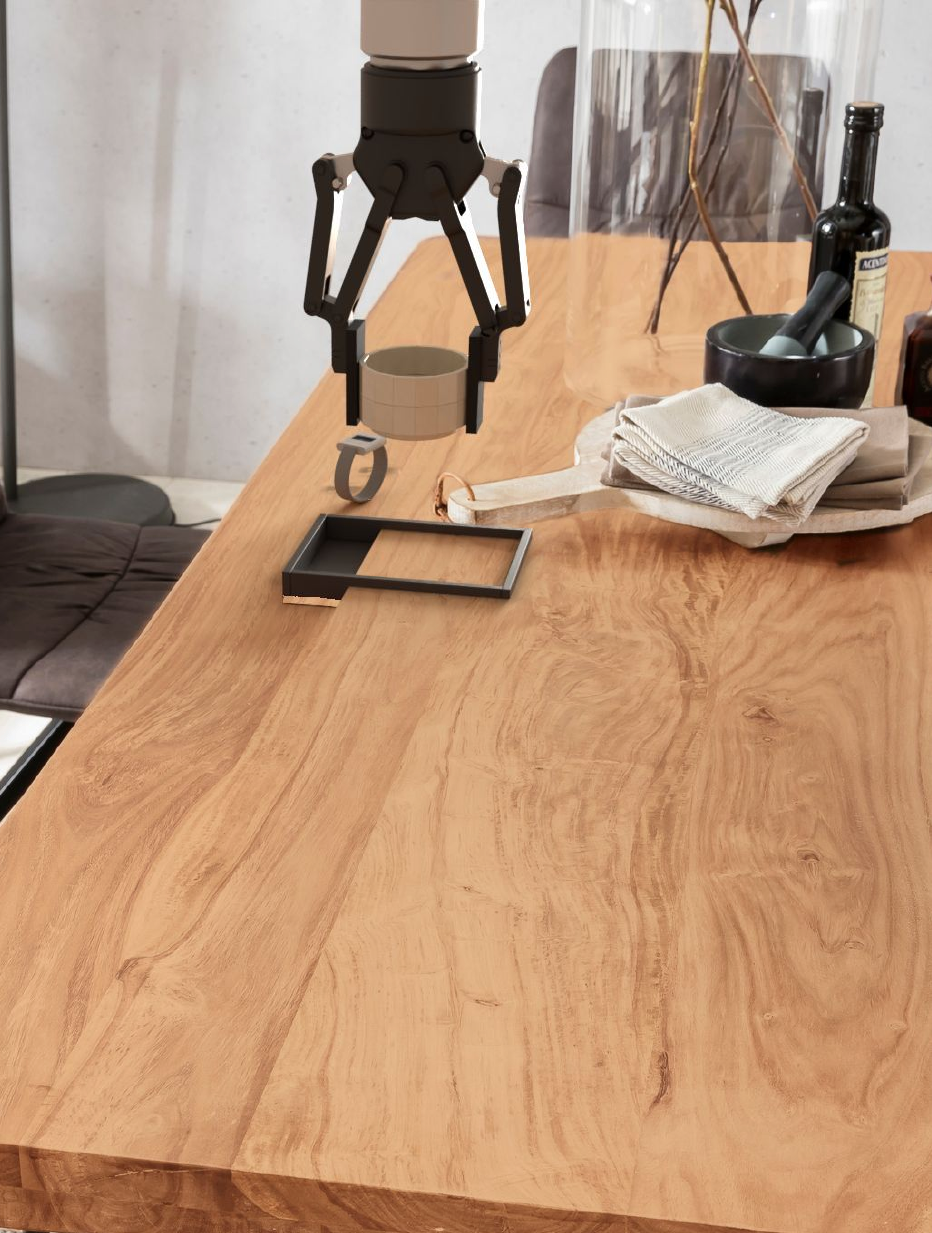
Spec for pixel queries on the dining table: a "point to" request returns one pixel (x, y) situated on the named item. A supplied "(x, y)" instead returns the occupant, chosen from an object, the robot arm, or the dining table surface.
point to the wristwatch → (349, 448)
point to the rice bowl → (413, 392)
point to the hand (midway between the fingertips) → (414, 423)
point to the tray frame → (347, 539)
